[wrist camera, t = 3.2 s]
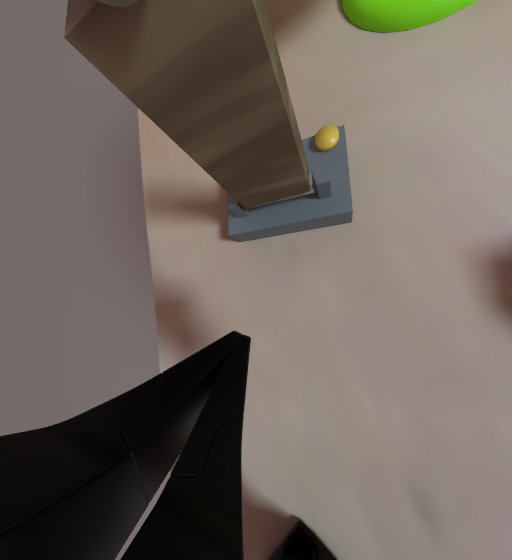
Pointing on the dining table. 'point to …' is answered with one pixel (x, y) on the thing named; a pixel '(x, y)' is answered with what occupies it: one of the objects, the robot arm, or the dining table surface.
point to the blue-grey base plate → (308, 208)
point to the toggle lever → (203, 85)
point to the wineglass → (399, 13)
